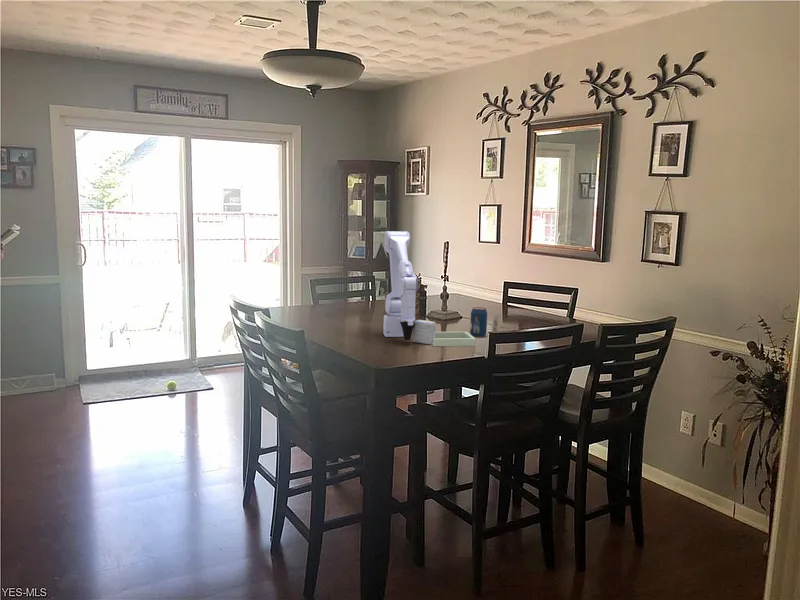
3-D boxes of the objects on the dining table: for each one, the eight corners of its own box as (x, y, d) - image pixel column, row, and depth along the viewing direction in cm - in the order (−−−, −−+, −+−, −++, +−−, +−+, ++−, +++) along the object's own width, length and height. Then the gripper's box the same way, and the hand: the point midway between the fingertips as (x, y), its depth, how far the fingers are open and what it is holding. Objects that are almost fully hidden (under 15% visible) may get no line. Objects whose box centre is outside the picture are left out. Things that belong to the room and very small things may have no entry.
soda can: (483, 334, 277) (484, 307, 276) (488, 337, 270) (489, 309, 269) (468, 334, 276) (469, 307, 274) (472, 337, 269) (473, 309, 268)
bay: (433, 346, 250) (433, 339, 249) (426, 338, 264) (426, 331, 263) (475, 346, 252) (475, 338, 252) (466, 338, 267) (466, 331, 266)
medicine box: (435, 343, 256) (436, 321, 255) (429, 344, 253) (430, 323, 251) (418, 340, 261) (419, 319, 259) (412, 342, 257) (413, 320, 256)
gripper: (395, 303, 260) (394, 336, 262) (400, 309, 245) (400, 343, 247) (412, 303, 261) (411, 336, 263) (418, 309, 247) (417, 343, 249)
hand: (407, 339), depth 255 cm, fingers closed
